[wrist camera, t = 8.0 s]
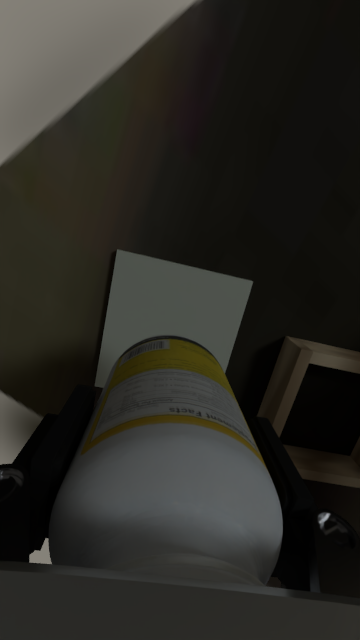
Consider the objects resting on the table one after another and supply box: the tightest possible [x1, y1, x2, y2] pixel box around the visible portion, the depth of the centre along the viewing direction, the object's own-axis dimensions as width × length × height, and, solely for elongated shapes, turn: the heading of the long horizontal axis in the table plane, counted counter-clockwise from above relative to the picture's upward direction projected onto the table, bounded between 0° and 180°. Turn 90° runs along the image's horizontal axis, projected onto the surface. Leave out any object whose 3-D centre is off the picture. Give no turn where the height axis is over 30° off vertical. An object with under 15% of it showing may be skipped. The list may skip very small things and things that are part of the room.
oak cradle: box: [257, 336, 360, 488], centre depth 25 cm, size 12×12×3 cm
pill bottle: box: [49, 335, 283, 587], centre depth 10 cm, size 6×6×12 cm
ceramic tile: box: [95, 249, 253, 388], centre depth 23 cm, size 11×12×1 cm
